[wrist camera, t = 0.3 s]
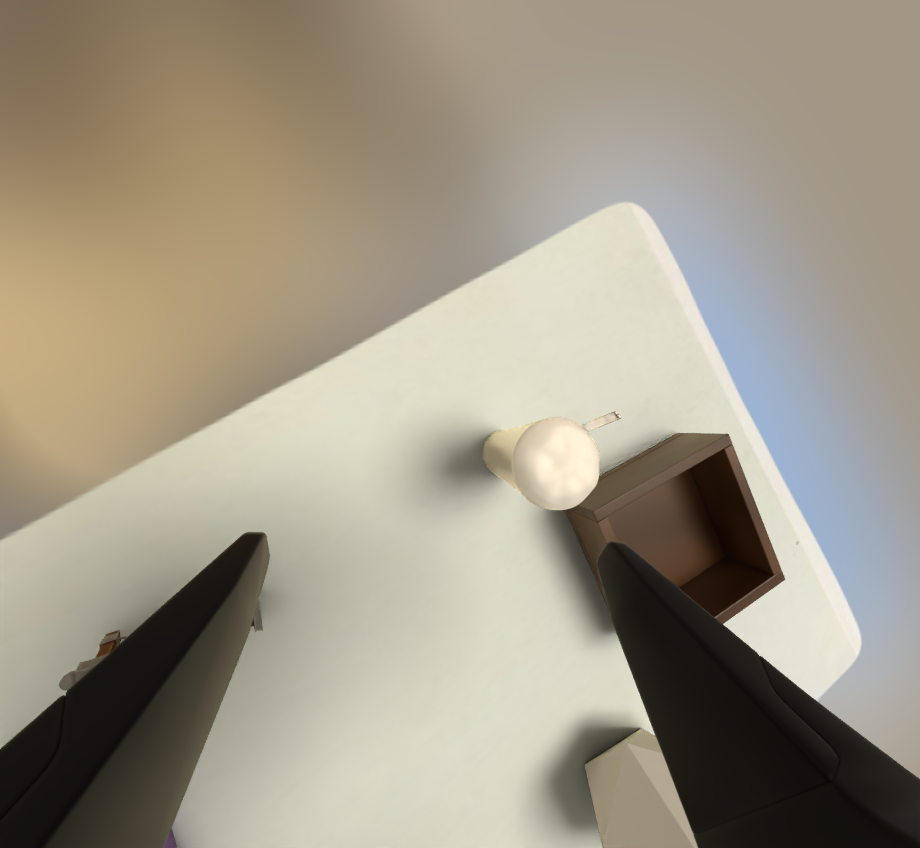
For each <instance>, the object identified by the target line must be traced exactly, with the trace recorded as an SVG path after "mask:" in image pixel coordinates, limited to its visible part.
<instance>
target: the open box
mask: <svg viewBox="0 0 920 848" xmlns="http://www.w3.org/2000/svg"><path fill="white" fill-rule="evenodd" d="M566 512H567V515H568V517H569V519H570V521H571V524H572V526H573V528H574V531H575V533H576V535H577V537H578V540H579V542H580V544H581V547H582V549H583V551H584V554H585V556H586V558H587V560H588V563H589V565H590V567H591V570H592V572H593V574H594V576H595V579H596V581H597V583H598V586H599V588H600V590H601V592H602V595H603V597H604V599H605V602H606V598H605V594H604V591H603V587H602V584H601V580H600V577H599V573H598V569H597V558H598V557H599V555H600V553H601V552H602V550H603V549H604V547H605V545H606V544H607V543H608V542H610V541H620V542H624V543H625V544H627V545H628V546H629V547H630V548H631V549H633V550H634V551H635V552H636V553H637V554H639V555H640V556H641V557H642V558H643V559H645V560H646V561H647V562H648V563H649V564H651V565H652V566H653V567H654V568H656V569H657V570H658V571H659V572H660V573H662V574H663V575H664V576H665V577H666V578H668V579H669V580H670V581H671V582H672V583H674V584H675V585H676V586H677V587H678V588H680V589H681V590H682V591H683V592H684V593H686V594H687V595H688V596H689V597H690V598H692V599H693V600H694V601H695V602H696V603H698V604H699V605H700V606H701V607H702V608H704V609H705V610H706V611H707V612H708V613H710V614H711V615H712V616H713V617H715V618H716V619H717V620H718V621H719V622H721V623H722V624H724V623H725V622H726V621H728V620H729V619H731V618H732V617H733V616H735V615H736V614H738V613H739V612H740V611H742V610H743V609H745V608H746V607H747V606H749V605H750V604H752V603H753V602H754V601H756V600H757V599H759V598H760V597H761V596H763V595H764V594H766V593H767V592H768V591H770V590H771V589H773V588H774V587H775V586H777V585H778V584H780V583H781V582H782V581H784V580H785V578H784V575H783V572H782V570H781V568H780V565H779V562H778V560H777V557H776V555H775V552H774V550H773V547H772V544H771V542H770V539H769V537H768V534H767V532H766V529H765V526H764V524H763V521H762V519H761V516H760V514H759V511H758V508H757V506H756V503H755V501H754V498H753V496H752V493H751V490H750V488H749V485H748V483H747V480H746V478H745V475H744V472H743V470H742V467H741V465H740V462H739V460H738V457H737V455H736V452H735V449H734V447H733V445H732V442H731V439H730V436H729V434H704V433H678V434H676V435H674V436H672V437H670V438H669V439H667V440H665V441H663V442H661V443H660V444H658V445H656V446H654V447H652V448H651V449H649V450H647V451H645V452H643V453H641V454H640V455H638V456H636V457H634V458H632V459H631V460H629V461H627V462H625V463H623V464H622V465H620V466H618V467H616V468H614V469H613V470H611V471H609V472H607V473H605V474H603V475H602V476H600V477H599V479H598V482H597V485H596V486H595V488H594V489H593V490H592V491H591V493H590V494H589V495H588V496H587V497H586V498H585V499H584V500H583V501H582V502H581V503H580V504H579V505H577V506H575V507H573V508H570V509H566ZM606 604H607V602H606ZM607 606H608V605H607Z"/></svg>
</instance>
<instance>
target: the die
mask: <svg viewBox="0 0 920 848" xmlns="http://www.w3.org/2000/svg"><path fill="white" fill-rule="evenodd" d="M585 769H586V774H587V778H588V783H589V787H590V792H591V797H592V801H593V806H594V810H595V815H596V819H597V824H598V828H599V833H600V838H601V842H602V847H603V848H698V847H697V844H696V841H695V839H694V836H693V834H694V833H693V832H692V830H691V828H690V825H689V822H688V820H687V817H686V814H685V812H684V809H683V807H682V804H681V801H680V799H679V796H678V793H677V791H676V788H675V786H674V783H673V780H672V778H671V775H670V772H669V770H668V767H667V764H666V762H665V759H664V757H663V754H662V751H661V749H660V746H659V743H658V741H657V738H656V736H654V735H652V734H651V733H649V732H647V731H645V730H643V729H642V728H641V729H640V730H638V731H636V732H635V733H633V734H632V735H630V736H629V737H627V738H625V739H624V740H622V741H621V742H619V743H618V744H616V745H615V746H613V747H611V748H610V749H608V750H607V751H605V752H604V753H602V754H600V755H599V756H597V757H596V758H594V759H593V760H591V761H590V762H588V763H586V764H585Z"/></svg>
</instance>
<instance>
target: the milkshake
mask: <svg viewBox="0 0 920 848" xmlns="http://www.w3.org/2000/svg"><path fill="white" fill-rule="evenodd" d="M618 419H621V417H620V416H619V415H618V414H617V413H616V412H612V413H609V414H607V415H605V416H602V417H600V418H598V419H595V420H593V421H590V422H588V423H586V424H583V425H581V426H580V425H579V424H577V423H576V422H574V421H572V420H569V419H566V418H557V417H556V418H547V419H543V420H540V421H537V422H533V423H530V424H527V425H524V426H521V427H516V428H511V429H507V430H503V431H499V432H495V433H492V434H491V435H490V437H489V438H488V439H487V440H486V442H485V443H484V444H483V456H482V459H483V460H484V462H485V463H486V465H487V467H488V469H489V470H490V471H491V472H492V473H494V474H495V475H497V476H498V477H499V478H501V479H502V480H503V481H505V482H506V483H508V484H509V485H510V486H512V487H513V488H514V489H516V490H517V491H518V492H519V493H520V494H522V495H523V496H524V497H525V498H526V499H528V500H529V501H530V502H532V503H533V504H535V505H537V506H539V507H541V508H544V509H549V510H566V509H570V508H573V507H575V506H577V505H579V504H580V503H581V502H582V501H583V500H584V499H585V498H586V497H587V496H588V495H589V494H590V493H591V491H592V490H593V489H594V488H595V486H596V485H597V482H598V479H599V461H600V457H599V451H598V448H597V445H596V443H595V442H594V440H593V438H592V437H591V436H590V434H589V433H588V431H591V430H593V429H596V428H598V427H601V426H603V425H606V424H608V423H611V422H613V421H616V420H618Z"/></svg>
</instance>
